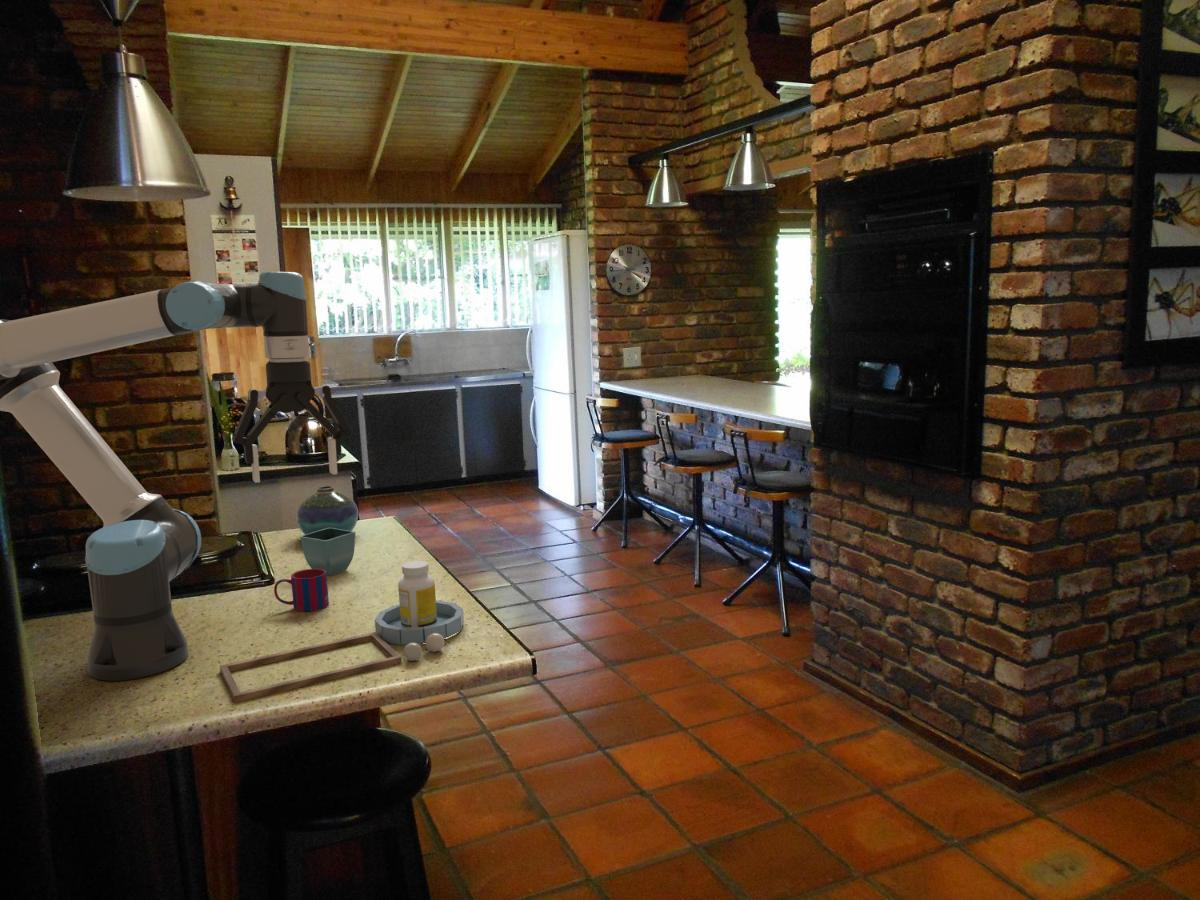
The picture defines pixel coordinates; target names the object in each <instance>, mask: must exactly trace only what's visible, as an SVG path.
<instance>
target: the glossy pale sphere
mask: <svg viewBox="0 0 1200 900" xmlns="http://www.w3.org/2000/svg"><path fill="white" fill-rule="evenodd" d="M421 646H422V645H419V644H417V643H414V642H412V643H409V644H407V645H406V646H404V648H403V655H404V658H405V660H407V661H410V662H411V661H412V662H413V661H414V660H415V661H417V660H420V658H421V656H422V654H423V649H422V647H421Z"/></svg>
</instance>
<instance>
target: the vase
mask: <svg viewBox="0 0 1200 900" xmlns="http://www.w3.org/2000/svg"><path fill="white" fill-rule="evenodd" d="M358 518H359V509H358V506H357V504H356V502H355V501H354V500H353V499H352V498H351V497H350V496H348V495H346V494H345V493H342V492H340V491H337V490H336V489H335V488H334V486H333V485H324V486H319V487H317V488H316V492H313V494H311V495H309V496H308V497H306V498H305V499H304V500H302V501H301V503H300V504H299V506H298V507H297V511H296V523H297V525H298V528H299V530H300V531H301V532H302V533H303V535H306V534H309V533H313V532H316V531H319V530H322V529H326V528H336V529H342V530H348V531H354V528H355V527H356V525H357V523H358Z"/></svg>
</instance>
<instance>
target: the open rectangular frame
mask: <svg viewBox="0 0 1200 900" xmlns="http://www.w3.org/2000/svg"><path fill="white" fill-rule="evenodd" d="M370 641H372V642H373V643H374V644H375V645H376V646H377V647H378V648H379V649H380V650H381V651H382V652H383V653H384V654H385V655H386V656H387V658H382V659H378V660H374V661H369V662H363V663H359V664H356V665H351V666H347V667H344V668H339V669H335V670H329V671H326V672H322V673H317V674H313V675H308V676H304V677H300V678H297V679H292V680H288V681H287V680H286V681H284V682H279V683H275V684H269V685H266V686H261V687H256V688H253V689H248V690H244V691H240V689H239V687H238V684H237V683H236V681H235V679H234V676H233V675H232V672H234V671H238V670H243V669H248V668H253V667H257V666H262V665H266V664H271V663H274V662H280V661H285V660H289V659H293V658H299V657H303V656H307V655H313V654H316V653H320V652H321V653H322V652H325V651H330V650H334V649H339V648H344V647H349V646H352V645H358V644H361V643H365V642H370ZM388 656H389V657H390V658H389V657H388ZM402 660H403V659H402V656H401V655H400V654H399V653H398V652H397V651H395V649H394V648H393V647H392V646H390V645H389V643H386V642H385V641H384V640H383V639H382V638H381V637H380V636H379V635H378V634H377V633H376V631H375V632H370V633H366V634H359V635H356V636H351V637H346V638H342V639H337V640H332V641H328V642H323V643H319V644H314V645H309V646H306V647H300V648H295V649H291V650H287V651H286V650H285V651H282V652H277V653H273V654H267V655H264V656H258V657H255V658H249V659H245V660H240V661H236V662H231V663H226V664H222V665H219V670H220V674H221V676H222V678H223V680H224V682H225V684H226V686H227V688H228V690H229V692H230V695H231V697H232V699H233V701H234V703H239V702H243V701H246V700H251V699H252V700H253V699H256V698H260V697H264V696H267V695H273V694H276V693H281V692H285V691H290V690H292V689H298V688H301V687H306V686H310V685H314V684H319V683H323V682H327V681H331V680H335V679H339V678H344V677H349V676H353V675H356V674H357V675H358V674H360V673H365V672H369V671H373V669H374V670H377V668H378V669H381V668H385V666H387V667H390V666H389V665H391V666H394V665H393V664H395V665H397V664H396V663H399V664H401V663H400V662H403V661H402Z"/></svg>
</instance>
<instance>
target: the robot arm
mask: <svg viewBox="0 0 1200 900" xmlns="http://www.w3.org/2000/svg"><path fill="white" fill-rule="evenodd" d="M258 277H259V278H258V279H259V280H258V281H257V283H256V282H255V283H250V284H249V283H248V284H244V283H239V284H238V283H215V282H214V283H213V282H205V281H200V280H190V281H184V282H181V283H179V284H177V285H174V286H171V287H166V288H163V289H156V290H152V291H147V292H142V293H138V294H134V295H128V296H122V297H119V298H114V299H109V300H104V301H99V302H93V303H89V304H86V305H79V306H75V307H71V308H66V309H60V310H57V311H50V312H47V313H42V314H37V315H32V316H28V317H22V318H18V319H13V320H11V319H10V320H9V319H4V318H3V319H2V318H1V319H0V412H7V413H10V414H12V415H13V417H14V418H15V419H16V420H17V421H18V423H19V424H20V425H21V426H22V427H23V428H24V430H25V431H26V432H27V433H28V434H29V436H30V437H31V438H32V439H33V440H34V442H36V443H37V445H38V446H39V447H40V449H41V450H42V451H43V452H44V453H45V454H46V456H48V458H49V459H50V460H51V461H52V462H53V464H54V465H55V466H56V467H57V468H58V469H59V471H60V472H61V473H62V474H63V475H64V477H65V478H66V479H67V480H68V481H69V483H70V484H71V485H72V486H73V487H74V488H75V490H76V491H77V492H78V493H79V494H80V496H81V497H82V498H83V499H84V500H85V501H86V503H87V504H88V506H90V507H91V509H92V510H93V511H94V512H95V513H96V515H97V516H98V517H99V518H100V519H101V521H102V523H103V527H101V528H99V529H98V530H96V531H94V532H92V533H91V535H89V536H88V538H87V539H86V542H85V557H84V560H85V565H86V569H87V577H88V583H89V591H90V599H91V605H92V614H93V620H94V621H93V622H94V629H93V633H92V637H91V641H90V645H89V649H88V653H87V659H86V664H87V665H86V666H87V672H88V673H87V674H88V676H90V677H91V678H93V679H96V680H101V681H108V682H109V681H128V680H135V679H141V678H145V677H150V676H153V675H157V674H160V673H163V672H166V671H168V670H170V669H173V668H175V667H177V666H179V665H180V664H182V663H183V662H184V661H185V660H187V659H188V656H189V648H188V641H187V639H186V637H185V634H184V633H183V630H182V629H181V627H180V624H179V622H178V621H177V619H176V617H175V615H174V612H173V605H172V597H171V595H172V594H171V587H170V582H171V581H172V580H173V579H175V578H176V577H177V576H178V575H180V574H182V573H183V572H184V571H186V570H188V569H189V568H190V566H191V565H192V563H193V562H194V561H195V559H196V558H197V556H198V554H199V553H200V550H201V546H202V535H201V533H202V532H201V530H200V528H199V525H198V524H197V522H196V520H195V519H193V517H192V516H191V515H189V514H188V513H186V512H184V511H183V510H179V509H176V508H173V507H172V506H171V505H170V504H169V503H168V502H167V500H166V499H165V498H164V497H163V496H162V495H161V494H157V493H149V492H148V491H147V490H146V489H145V488H144V487H143V486H142V484H141V483H140V482H139V481H138V479H137V478H136V477H135V476H134V475H133V473H132V472H131V471H130V470H129V469H128V467H127V466H126V465H125V464H124V463H123V462H122V459H120V458H119V457H118V455H117V454H116V453H115V451H114V450H113V449H112V448H111V447H110V445H108V443H107V442H106V441H105V440H104V438H103V437H102V436H101V435H100V433H99V432H98V431H97V430H96V428H94V426H93V425H92V424H91V423H90V421H89V420H88V419H87V418H86V417H85V415H84V414H83V413H82V412H81V410H79V408H78V407H77V406H76V405H75V404H74V402H73V401H72V399H70V398H69V396H68V395H67V394H66V393H65V392H64V391H63V389H62V388H61V387H60V384H59V381H60V375H61V372H60V371H59V370H58V369H57V367H56V366H55V365H54V362H58V361H63V360H67V359H72V358H78V357H82V356H86V355H91V354H95V353H101V352H105V351H110V350H114V349H119V348H123V347H128V346H133V345H137V344H141V343H146V342H150V341H156V340H161V339H164V338H168V337H169V338H170V337H174V336H178V335H179V336H180V335H184V334H189V333H194V332H199V331H204V330H209V329H224V328H228V329H229V328H259V327H262V330H263V332H262V335H263V346H264V347H263V348H264V357H265V359H266V360H268V361H267V362H266V364H265V374H266V387H265V390H263V389H254V388H249V390H248V395H247V396H248V398H247V403H246V405H245V407H244V410H243V411H242V414H241V417H240V419H239V421H238V423H237V425H236V428H235V430H234V433H233V434H232V437H231V440H232V441H233V442H234V443H235V444H239V445H242V446H243V452H244V453H243V454H244V461H245V463H246V464H247V465H251V475H252V481H253V482H254V483H255V484H256V483H260V482H261V479H260V478H261V476H260V463H259V451H258V445H257V444H254V443H255V442H256V440H257V439H258V437H259V436H260V435H261V433H263V431H264V430H265V429H266V427H267V426H268V425H269V423H270V422H271V421H272V420H273V418H274V417H275V416H276V415H277V414H278V413H279V412H280V413H282V414H289V413H292V412H294V413H301V412H303V411H304V410H305V411H306V412H307V413H308V414H309V415H310V416H312V417H313V418H314V420H315V421H316V422H318V424H319V425H321V426H322V428H323V429H325V430H326V432H328V434H330V436H331V437H327V450H328V451H327V452H328V468H329V473H330V474H331V475H338V459H337V456H341V455H342V438H343V437H344V436H347V435H349V434H351V428H350V426H349V425H348V423H347V421H346V419H345V418H344V416H343V415H342V412H341V411H340V409H339V407H338V406H337V404H336V402H335V401H334V400H333V398H332V392H331V387H330V386H329V385H326V384H322V385H320V386H316V387H313V385H312V372H311V362H309V360H307V358H309V357H310V345H309V332H308V313H307V312H308V310H307V301H308V299H307V297H306V289H305V281H304V280H305V279H304V277H303V275H302V274H301V273H299V272H294V271H266V272H265V271H264V272H261V273H260V274H259V276H258ZM315 394H316V395H317V397H318V398H320V399H322V401H323V403H324V405H325V406H326V408H327V410H328V411H329V413H330V415H331V416H332V418H333V420H334V421H335V423H336V425H337V427H338V429H337V428H336V427H335V426H334V425H333V424H332V423H331V422H330V421H329V420H328V419H327V418H326V417H325V416H324V415H323V414H322V413H321V411H319V410H318V409H317V407H316V406H314V405H313V403H312V402H311V400H312V399H313V397H314V396H315ZM263 398H266V400H267V401H268V402H269V403H270V404H269V405H268V406H267V407H266V409H265V411H264V412H263V414H262V415H261V417H259V418H258V420H257V422H256V423H255V424H254V425H253V426H252V428H251V429H250V430H249V432H248V433H247V434H246V435H245V433H246V431H247V430H248V427H249V425H250V422H251V421H252V417H253V416H254V413H255V411H256V409H257V406H258V403H260V402H262V400H263ZM244 436H245V437H244Z"/></svg>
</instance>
